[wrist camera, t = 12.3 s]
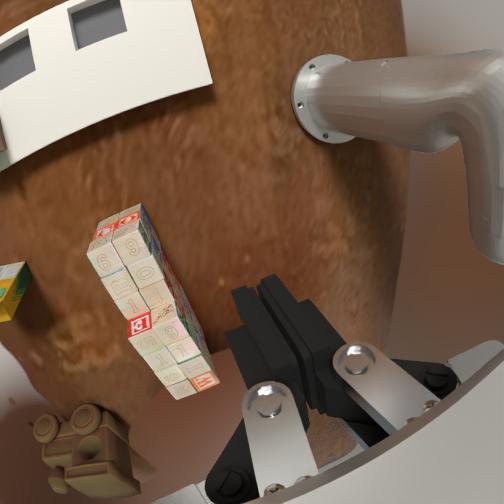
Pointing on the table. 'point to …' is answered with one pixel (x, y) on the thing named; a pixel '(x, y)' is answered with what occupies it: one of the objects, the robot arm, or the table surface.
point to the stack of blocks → (152, 302)
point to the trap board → (93, 67)
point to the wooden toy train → (87, 454)
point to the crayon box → (12, 288)
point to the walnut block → (2, 139)
